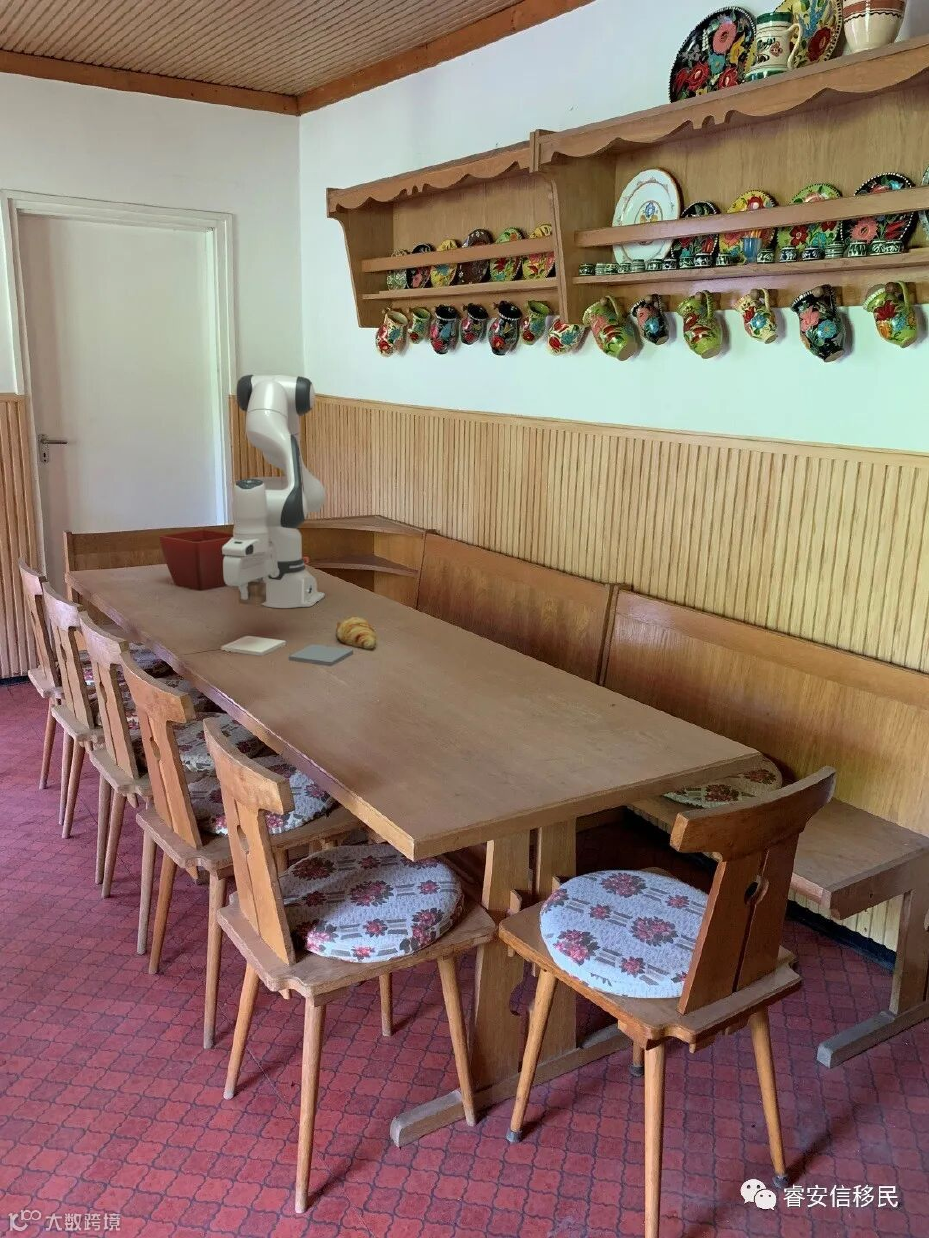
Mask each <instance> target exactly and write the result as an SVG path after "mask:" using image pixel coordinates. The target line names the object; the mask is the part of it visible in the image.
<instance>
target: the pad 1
mask: <svg viewBox="0 0 929 1238" xmlns="http://www.w3.org/2000/svg"><path fill="white" fill-rule="evenodd" d="M286 643H287V641H286V640H283V639H282V640H281V639H276V638H275V639H274V638H267V637H266V638H265V637H261V636H254V635H253V636H251V635H245V636H243V637H240V638H238V639H236V640H234V641H232V642H229V643H226V644H224V645H221V646H220V648H221V649H220V650H221V651H222V650H225V651H224V652H229V651H231V653H236V652H237V653H238V654H244V655H251V656H259V657H263V656H265V655H267V654H269V653H271V652H273V651H275V650H278V649H279V648H282V647H284V646H286V645H285V644H286ZM237 653H236V654H237Z"/></svg>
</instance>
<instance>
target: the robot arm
mask: <svg viewBox="0 0 929 1238" xmlns="http://www.w3.org/2000/svg"><path fill="white" fill-rule="evenodd" d="M234 391H235V392H234V393H235V399H236V402H237V406H238V407H239V409H241V411H243V412H246V417H245V435H246V438H247V440H248V441H249V442H250V443H251V445H252V446H253V447H254V448H256V449H257V450H258V451H260V452H262V457H263V458H264V460H265V461H266V462H267V463H268V464H269V465H271V466H273V467H275V468H276V469H277V468H278V469H279V470H281V471H282V472H283V474H284V476H259V477H258V476H257V477H252V478H244V479H239V480H237V481H236V482H234V486H233V490H232V491H233V493H232V503H231V504H232V507H231V508H232V509H231V510H232V518H233V522H234V525H233V530H232V534H233V537H232V538H231V539H230V540H229V541H228V542H227V543H226V544H225V545H224V546H223V547H222V553H223V554H224V555H226V556H225V557H224V560H223V575H224V581H225V583H226V586H229V587H230V586H234V587H238V591H239V590H240V592H241V598H242V599H244V600H246V599H249V598H250V592H248V590H247V586H248V582H251V581H256V582H263V583H266V602H264V603H261V604H260V605H263V606H264V607H267V608H268V607H269V608H274V609H291V608H301V607H302V608H305V607H312V606H313V605H315V604H317V603H318V602H319V601H321V600H322V599H323V598H325V597H324V596H325V593H324V592H321V591H318V583H317V578H315V577H314V576H313V575H312V574H311V573H310V572H309V571H308V570H307V569H306V565H305V564H309V562H310V559H309V557H308V556H303V552H302V551H303V550H302V549H303V546H302V538H303V537H302V534H301V532H300V530H299V529H298V528H299V527H300V526H301V525H303V524H304V523H305V522H306V521H307V518H308V517H307V516H308V513H313V512H318V511H320V510H321V509H322V508H323V506H324V504H325V501H326V496H327V495H326V489H325V486H324V485H323V483H322V482H321V481H320V480H319V479H318V478H316V477H315V475H313V474H312V473H311V472H310V470H309V469H307V467H306V465H305V463H304V460H303V457H302V449H301V448H302V447H301V426H300V417H302V416H303V415H306V414H308V413H309V412H311V411H312V409H313V406H314V404H315V400H316V391H315V388H314V385H313V382H312V381H311V380H310V378H307V377H304V376H299V375H298V376H292V375H287V374H257V375H253V374H246V375H243V376H241V377H240V379H239V380H238V381H237V384H236V387H235V390H234ZM317 601H318V602H317ZM316 602H317V603H316Z"/></svg>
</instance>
